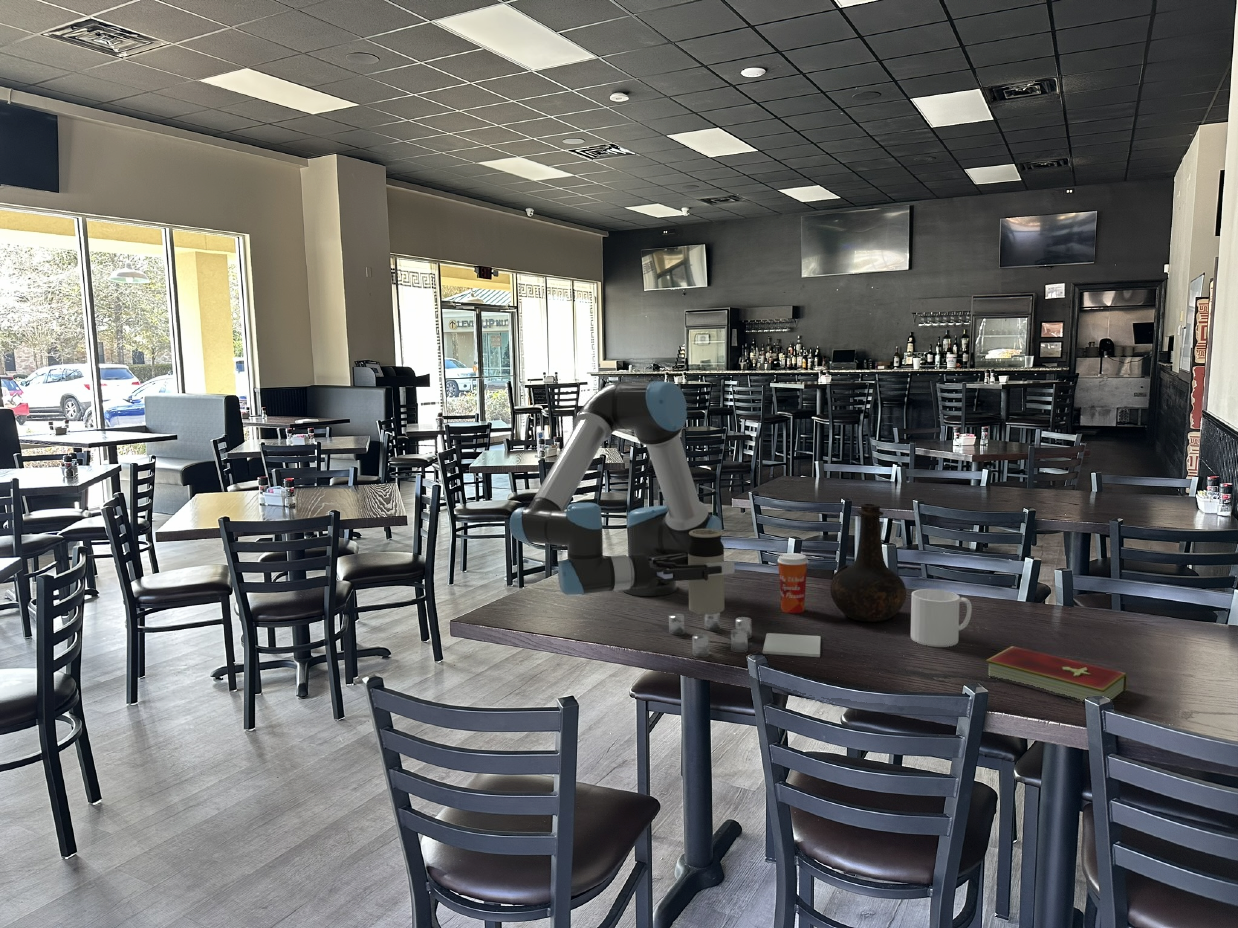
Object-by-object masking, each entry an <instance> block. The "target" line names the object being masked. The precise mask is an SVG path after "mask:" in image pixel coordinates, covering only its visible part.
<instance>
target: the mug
mask: <svg viewBox="0 0 1238 928" xmlns="http://www.w3.org/2000/svg"><path fill="white" fill-rule="evenodd" d="M960 603H965V605H966V615H965V618H964V620H963V622H962V623H961V624H960V623H959V621H960ZM910 604H911V605H910V607H911V609H910V639H911V640H912V641H913V642H914V643H916V642H917V644H920V645H921V646H926V645H927V646H926V647H931V648H933V647H934V648H949V646H950V647H953V645H954V646H956V645H957V644H959V631H962V630H963V629H966V627H967V626H968V625H969V623H970V621H971V618H972V612H973V611H972V605H973V604H972V603H971V601H970V600H969V599H968V598H967V597H960V595H959V594H958V593H955V592H952V591H949V590H944V589H936V588H935V589H934V588H924V589H923V588H922V589H917V590H914V591H912V592H911V603H910Z"/></svg>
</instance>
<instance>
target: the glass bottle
mask: <svg viewBox="0 0 1238 928" xmlns="http://www.w3.org/2000/svg"><path fill="white" fill-rule="evenodd" d="M859 507H860V510H858V511H856V513H857V514H858V515H860V528H859V535H858V536H859V539H858V546H857V553H856V556H855V561H854V563H853V564H852V565H849V566H848V565H847V564H844V565H843V566H842V567H840V568H838V570H836V572H834V573H833V574H832V576H831V577H832V579H831V582H830V589H829V590H830V596H831V598H832V600H833V603H834V604H835V606H836V607H837V608H838V610H839V611H840V612H842V613H843V614H844V615H845V616H847V617H848V618H850V619H853V620H856V621H858V622H869V623H872V622H874V623H875V622H883V621H885V620H888V619H890V618H892V617H894V616H895V615H896V614H897V613H899V611H900V610H901V609H902V608H903V606H904V604H905V602H906V599H907V587H906V585H905V582H904V581H903V579H902V577H900V575H899V574H897V573H896V572H895V571H893V570H891V569H890V568H889V567H888V566H887V565H886V562H885V559H884V554H883V547H882V546H883V545H882V535H881V521H880V519H881V518H880V516H883V515H884V514H885V513H884V511H880V510H881V509H880V508H881V505H878V504H875V503H863V504H860V506H859Z"/></svg>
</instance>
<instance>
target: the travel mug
mask: <svg viewBox="0 0 1238 928" xmlns="http://www.w3.org/2000/svg"><path fill="white" fill-rule="evenodd" d="M723 533H724V532H723V531H722V530H721V531H720V530H716V529H696V530H692V531H690V532H689V535H690V537H691V542H690V544H689V545H688V565H706V563H715V562H725V549H724V547H725V546H724V544H723V542H722V541H721V539H722V535H723ZM688 610H689V611H690V612H692V613H694V614H698V615H704V616H705V615H711V614H717V613H720V614H721V612H724V610H725V574H724V575H714V576H708V580H688Z"/></svg>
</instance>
